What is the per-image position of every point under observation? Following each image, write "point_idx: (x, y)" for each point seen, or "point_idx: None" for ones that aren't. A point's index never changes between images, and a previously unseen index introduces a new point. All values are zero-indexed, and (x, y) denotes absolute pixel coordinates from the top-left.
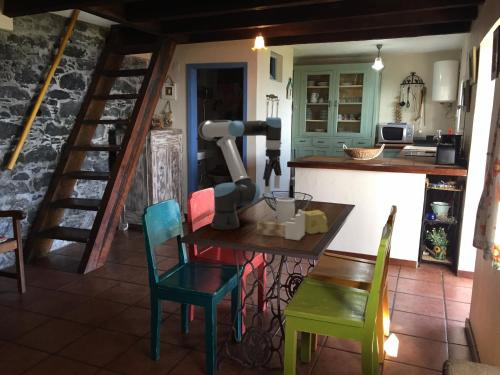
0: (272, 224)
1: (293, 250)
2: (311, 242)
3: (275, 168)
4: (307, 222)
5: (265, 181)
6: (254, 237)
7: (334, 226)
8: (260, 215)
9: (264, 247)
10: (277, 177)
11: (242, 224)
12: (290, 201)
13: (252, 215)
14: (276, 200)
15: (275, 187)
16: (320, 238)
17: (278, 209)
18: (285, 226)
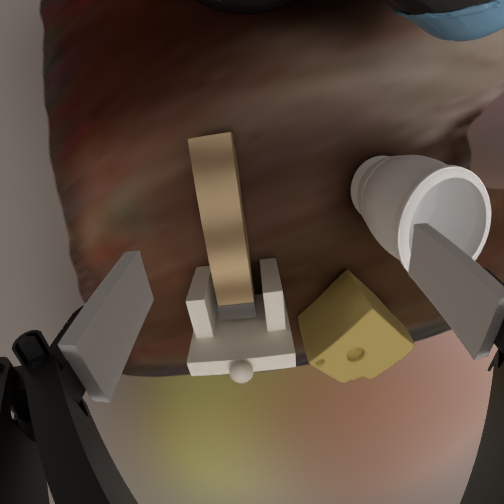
0: (202, 221)
1: None
2: None
3: (488, 462)
4: (320, 326)
5: (52, 346)
6: (146, 155)
7: (413, 336)
8: (475, 43)
9: (75, 251)
10: (473, 326)
11: (318, 7)
12: None
13: None
14: (420, 180)
15: (414, 242)
16: None
17: (380, 189)
18: (189, 293)
